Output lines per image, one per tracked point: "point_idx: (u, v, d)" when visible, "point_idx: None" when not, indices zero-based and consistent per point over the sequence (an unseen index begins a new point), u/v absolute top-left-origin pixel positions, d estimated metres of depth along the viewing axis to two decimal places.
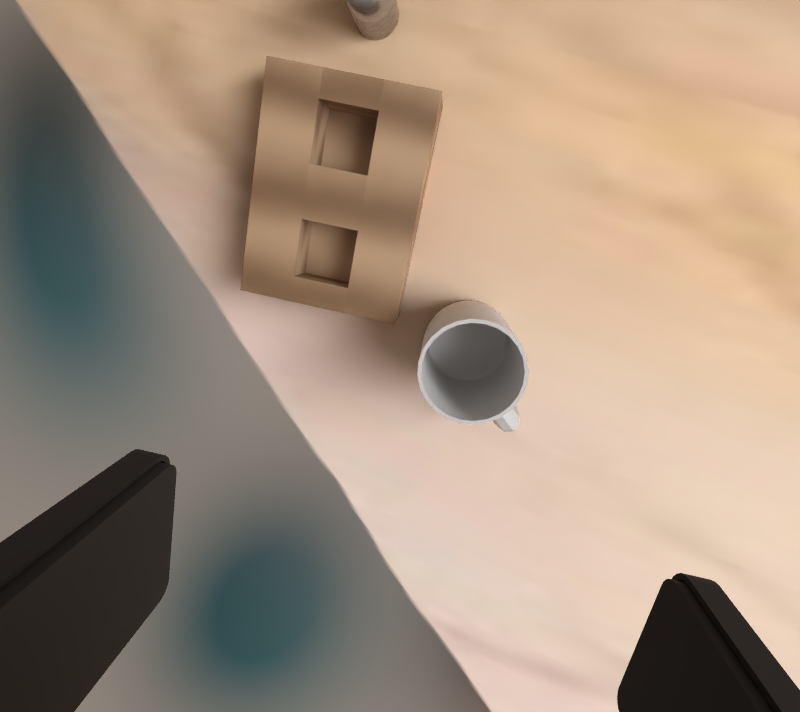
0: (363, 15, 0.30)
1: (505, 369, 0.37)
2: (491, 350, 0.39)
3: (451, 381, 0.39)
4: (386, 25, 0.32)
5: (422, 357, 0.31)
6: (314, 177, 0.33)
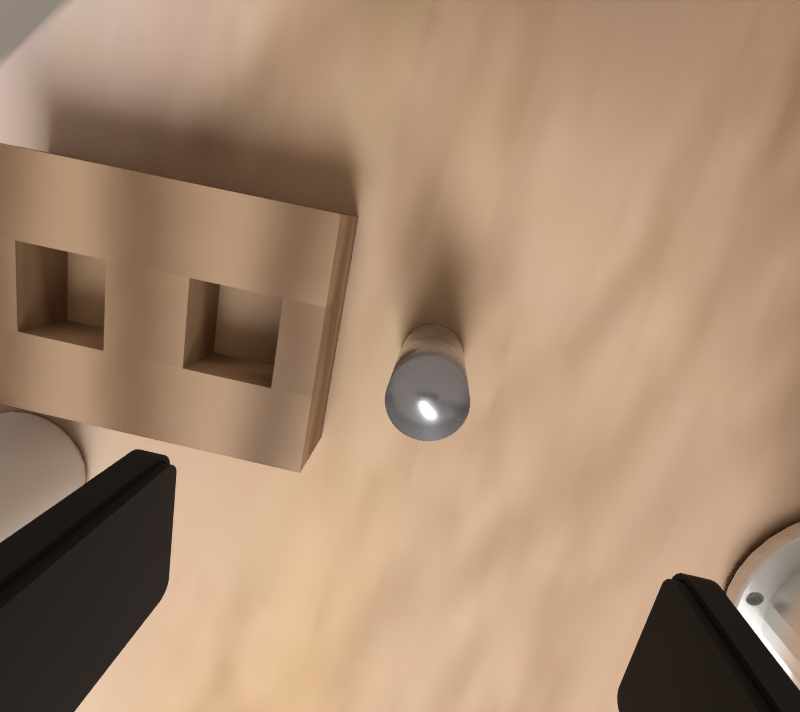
0: None
1: None
2: None
3: None
4: None
5: None
6: (170, 285, 0.21)
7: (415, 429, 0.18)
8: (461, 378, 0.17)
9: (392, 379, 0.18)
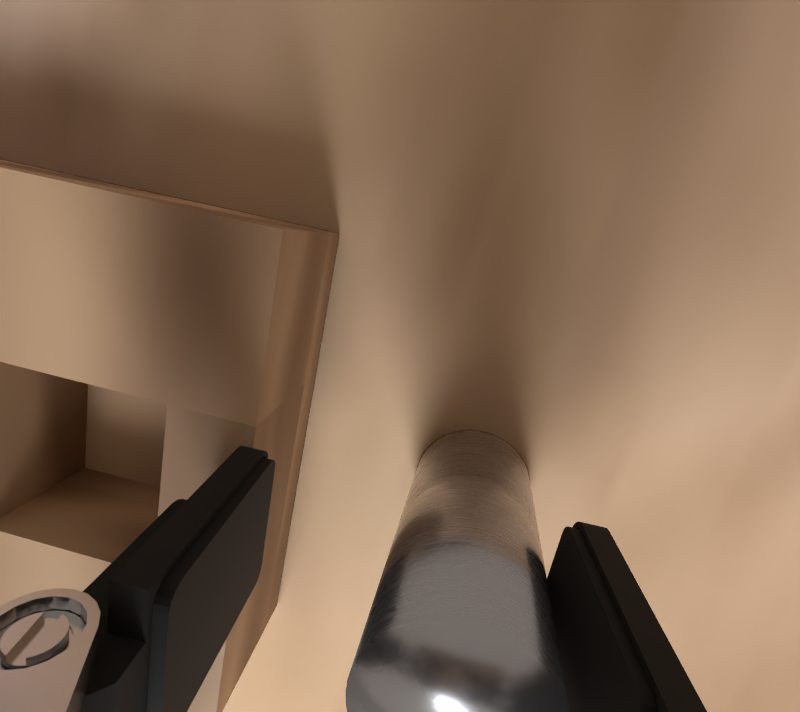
0: None
1: None
2: None
3: None
4: None
5: None
6: None
7: None
8: (550, 676, 0.06)
9: (364, 652, 0.07)
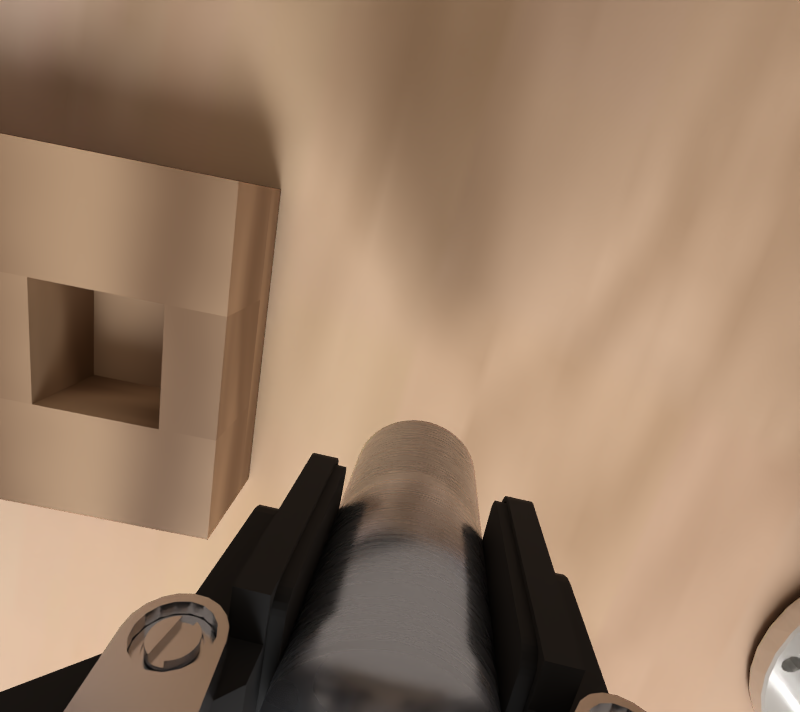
0: None
1: None
2: None
3: None
4: None
5: None
6: (0, 287, 0.14)
7: None
8: (482, 704, 0.06)
9: (275, 688, 0.06)
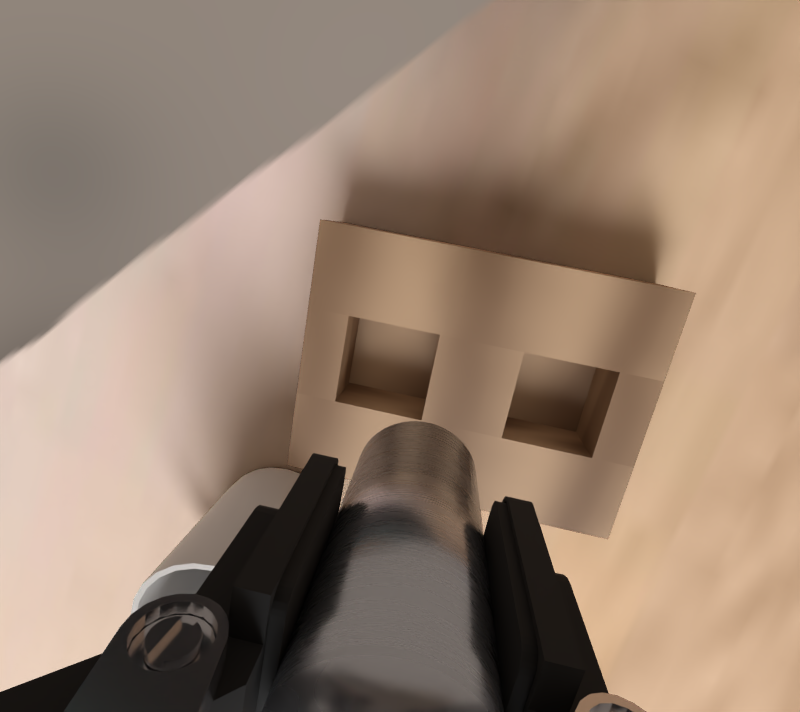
0: None
1: None
2: None
3: None
4: None
5: None
6: (502, 359, 0.21)
7: None
8: (486, 711, 0.06)
9: (275, 694, 0.06)
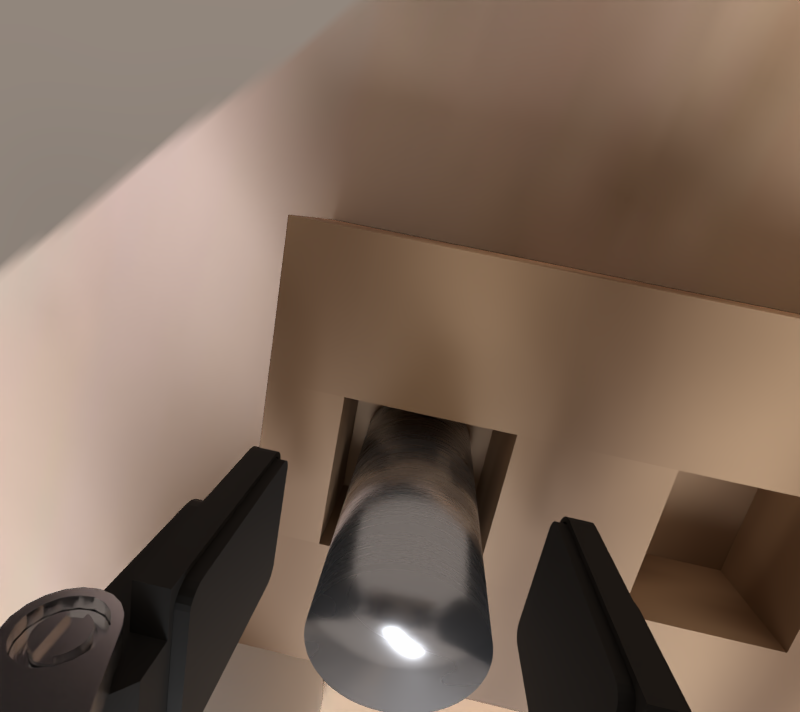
0: None
1: None
2: None
3: None
4: None
5: None
6: (635, 481, 0.11)
7: (373, 693, 0.08)
8: (474, 606, 0.08)
9: (318, 602, 0.08)
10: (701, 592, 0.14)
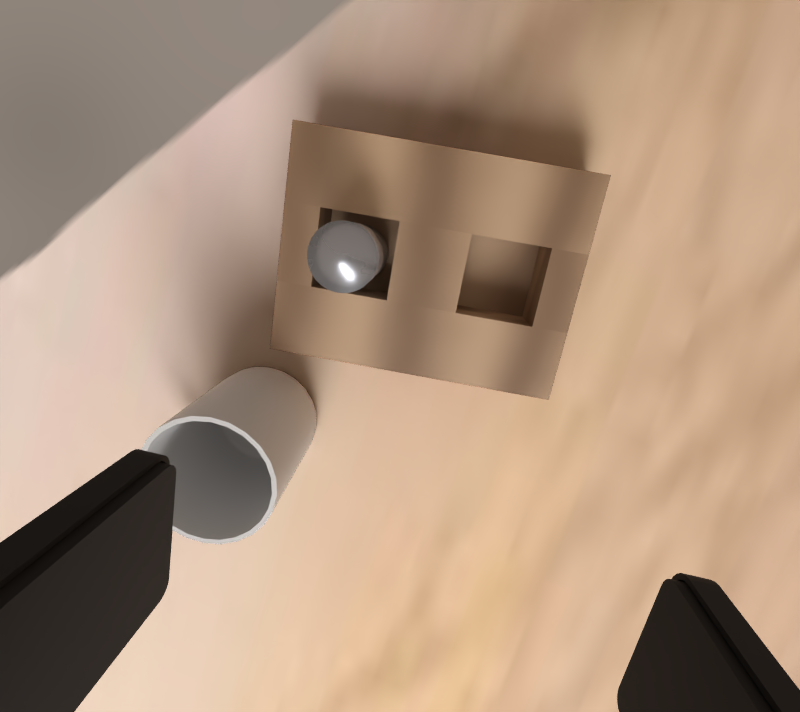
0: None
1: (235, 471, 0.31)
2: None
3: None
4: None
5: (216, 421, 0.23)
6: (454, 241, 0.24)
7: (335, 283, 0.21)
8: (368, 233, 0.21)
9: (311, 239, 0.21)
10: (504, 316, 0.27)
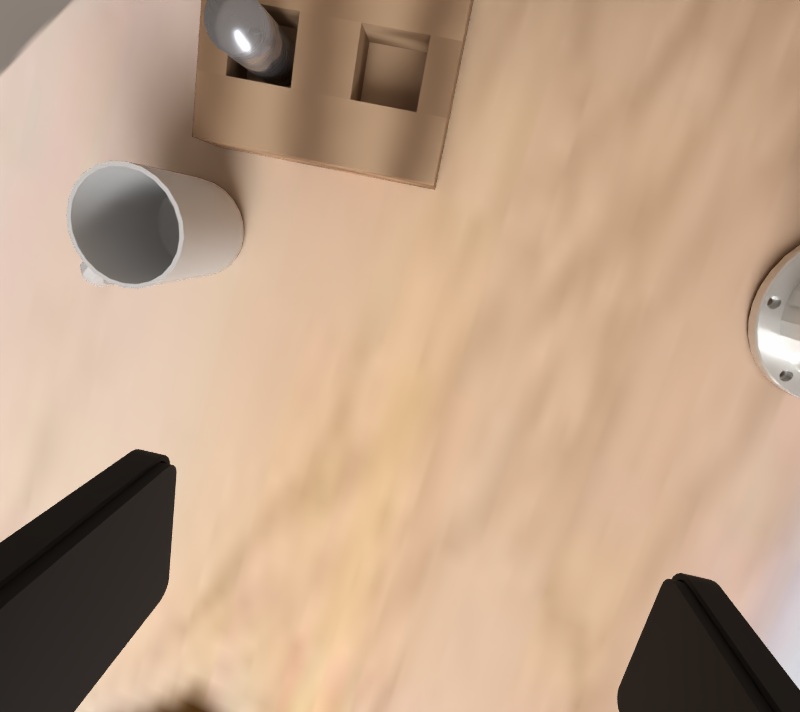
0: None
1: None
2: None
3: (151, 211, 0.35)
4: None
5: (131, 166, 0.27)
6: (346, 29, 0.28)
7: (228, 45, 0.25)
8: None
9: (206, 4, 0.25)
10: None
